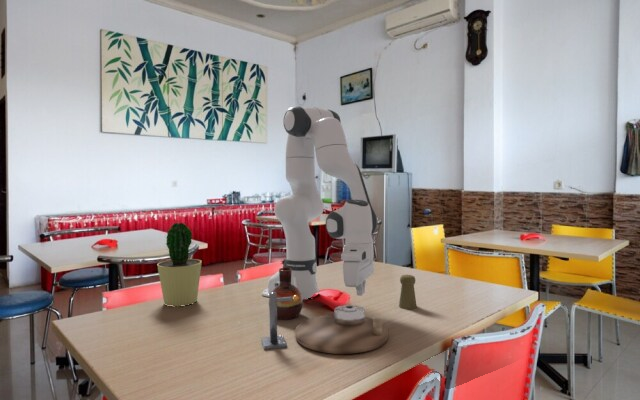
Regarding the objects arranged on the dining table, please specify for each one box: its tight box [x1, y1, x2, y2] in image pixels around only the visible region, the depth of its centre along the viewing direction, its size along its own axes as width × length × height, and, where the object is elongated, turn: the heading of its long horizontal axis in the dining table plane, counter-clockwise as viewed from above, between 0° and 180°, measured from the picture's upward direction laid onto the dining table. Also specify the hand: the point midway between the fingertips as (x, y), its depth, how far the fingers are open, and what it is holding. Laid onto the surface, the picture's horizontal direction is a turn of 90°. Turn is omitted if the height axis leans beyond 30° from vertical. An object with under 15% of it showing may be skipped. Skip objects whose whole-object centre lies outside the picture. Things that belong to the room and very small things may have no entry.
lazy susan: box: [294, 314, 389, 355], centre depth 115 cm, size 26×26×6 cm
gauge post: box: [260, 292, 299, 351], centre depth 110 cm, size 10×6×14 cm, turn 105°
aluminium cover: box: [333, 304, 366, 327], centre depth 121 cm, size 9×9×4 cm
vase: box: [272, 267, 304, 320], centre depth 133 cm, size 11×11×15 cm
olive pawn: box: [398, 274, 418, 310], centre depth 141 cm, size 6×6×11 cm
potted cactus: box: [156, 222, 202, 306], centre depth 148 cm, size 15×15×30 cm
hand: (360, 294), depth 129 cm, fingers closed
